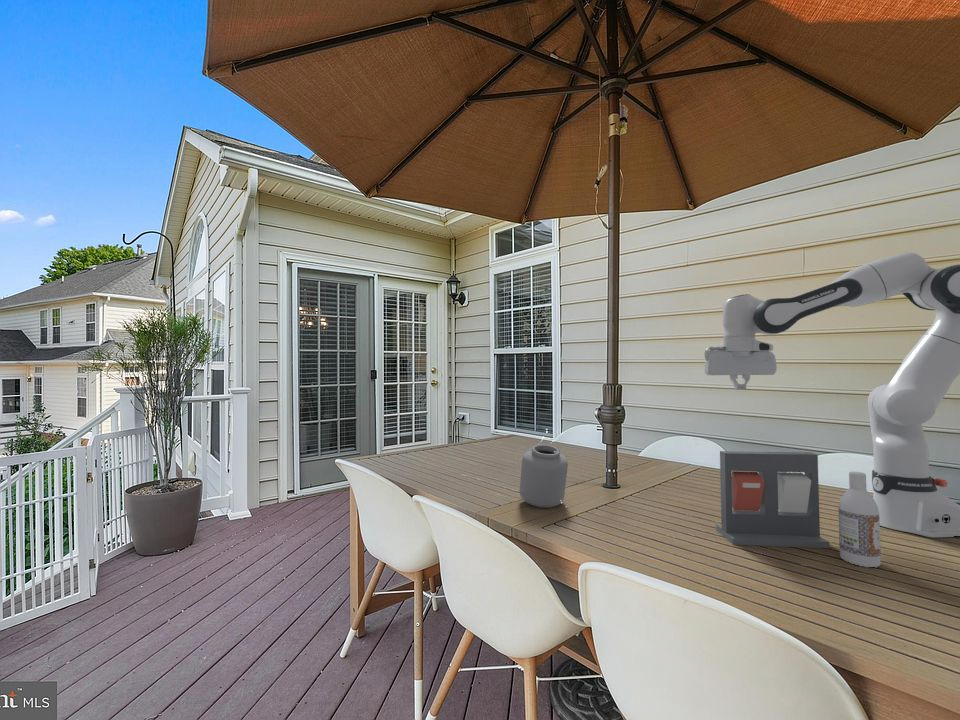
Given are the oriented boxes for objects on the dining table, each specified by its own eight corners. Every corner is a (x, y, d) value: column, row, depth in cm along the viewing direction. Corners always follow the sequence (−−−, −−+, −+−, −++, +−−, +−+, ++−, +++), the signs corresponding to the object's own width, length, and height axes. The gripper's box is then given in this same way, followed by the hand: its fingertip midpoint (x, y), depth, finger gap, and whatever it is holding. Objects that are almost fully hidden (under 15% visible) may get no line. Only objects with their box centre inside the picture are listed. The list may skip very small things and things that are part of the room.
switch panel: (804, 532, 114) (802, 449, 115) (829, 548, 105) (826, 457, 105) (716, 529, 117) (714, 448, 118) (732, 544, 107) (730, 456, 108)
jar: (580, 510, 134) (579, 430, 135) (538, 516, 129) (537, 433, 130) (550, 494, 152) (549, 423, 152) (512, 499, 147) (511, 425, 147)
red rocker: (751, 501, 115) (756, 472, 112) (759, 511, 111) (765, 481, 108) (727, 500, 116) (732, 471, 113) (734, 510, 112) (739, 481, 109)
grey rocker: (797, 504, 113) (801, 472, 111) (806, 512, 109) (811, 480, 107) (772, 503, 114) (776, 472, 112) (781, 511, 110) (785, 479, 108)
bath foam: (875, 571, 92) (872, 478, 93) (835, 559, 98) (832, 472, 99) (885, 563, 96) (882, 473, 97) (846, 552, 102) (843, 468, 103)
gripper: (708, 346, 135) (709, 390, 135) (778, 345, 133) (779, 390, 132) (700, 347, 142) (701, 389, 141) (767, 346, 139) (769, 389, 139)
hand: (740, 389), depth 137 cm, fingers closed
